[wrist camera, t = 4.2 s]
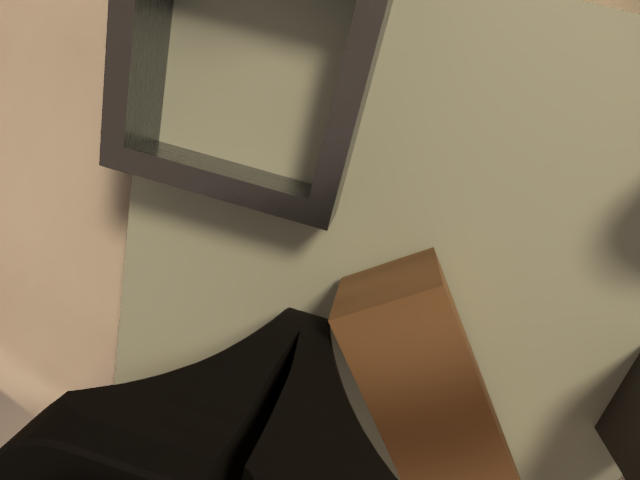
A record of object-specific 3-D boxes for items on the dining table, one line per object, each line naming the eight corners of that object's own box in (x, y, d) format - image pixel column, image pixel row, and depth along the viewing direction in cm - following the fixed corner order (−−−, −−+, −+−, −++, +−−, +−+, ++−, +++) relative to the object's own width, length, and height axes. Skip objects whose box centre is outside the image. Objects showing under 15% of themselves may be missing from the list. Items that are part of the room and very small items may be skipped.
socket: (401, -31, 9) (402, -55, 8) (336, 213, 11) (327, 230, 10) (158, -88, 10) (115, -122, 8) (137, 156, 12) (99, 165, 10)
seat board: (835, 76, 10) (1116, 61, 6) (547, 532, 15) (598, 676, 11) (180, -78, 11) (66, -172, 7) (131, 393, 16) (51, 482, 12)
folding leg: (543, 538, 13) (581, 652, 11) (460, 549, 14) (476, 658, 11) (433, 246, 11) (446, 295, 8) (341, 277, 12) (324, 332, 9)
